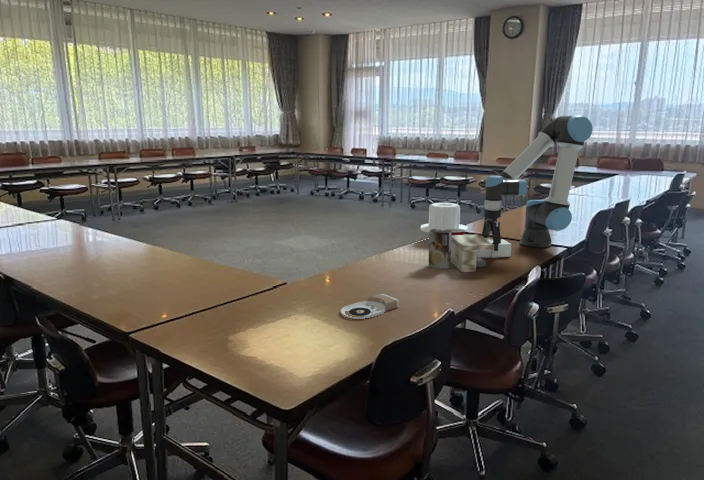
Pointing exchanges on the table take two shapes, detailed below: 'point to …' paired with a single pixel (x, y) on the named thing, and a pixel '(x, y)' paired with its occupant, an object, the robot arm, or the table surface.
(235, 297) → the table surface
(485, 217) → the robot arm
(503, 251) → the white block
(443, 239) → the coffee box
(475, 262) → the beige boxy piece
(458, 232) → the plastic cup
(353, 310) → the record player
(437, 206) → the ribbed cylinder on disc
